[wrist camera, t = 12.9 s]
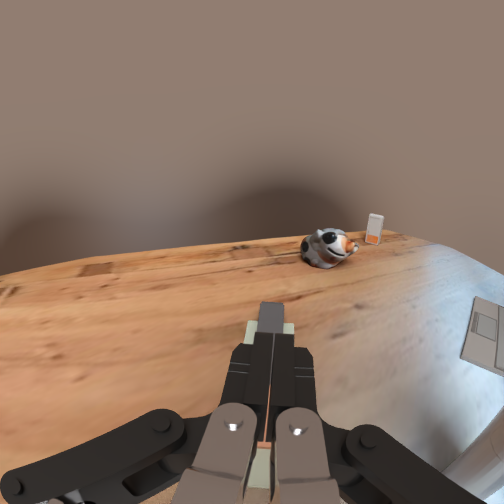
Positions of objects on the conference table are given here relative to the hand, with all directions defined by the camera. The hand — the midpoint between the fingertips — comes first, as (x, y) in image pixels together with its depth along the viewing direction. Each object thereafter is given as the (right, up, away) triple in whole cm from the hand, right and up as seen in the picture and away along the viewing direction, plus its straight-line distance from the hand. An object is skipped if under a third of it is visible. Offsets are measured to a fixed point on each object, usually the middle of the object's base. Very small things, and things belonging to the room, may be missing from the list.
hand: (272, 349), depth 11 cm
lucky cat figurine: (+24, 0, +83) cm, 86 cm away
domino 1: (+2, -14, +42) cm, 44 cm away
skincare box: (+50, +7, +103) cm, 114 cm away
